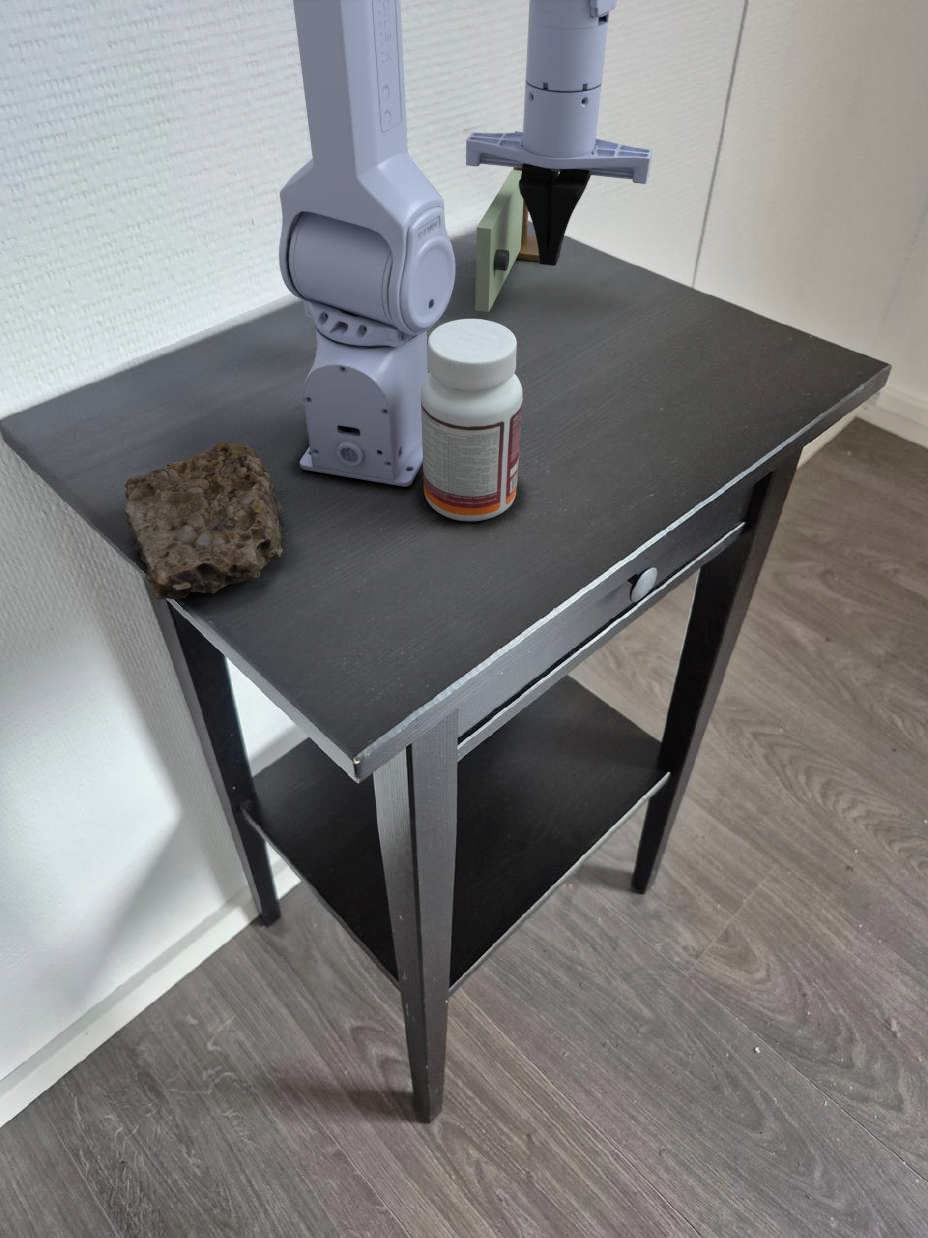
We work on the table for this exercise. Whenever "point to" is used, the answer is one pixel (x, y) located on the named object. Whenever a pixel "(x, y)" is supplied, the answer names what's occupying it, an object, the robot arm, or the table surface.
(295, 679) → the table surface
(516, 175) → the door
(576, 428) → the table surface
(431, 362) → the pill bottle
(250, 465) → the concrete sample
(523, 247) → the wooden stand
